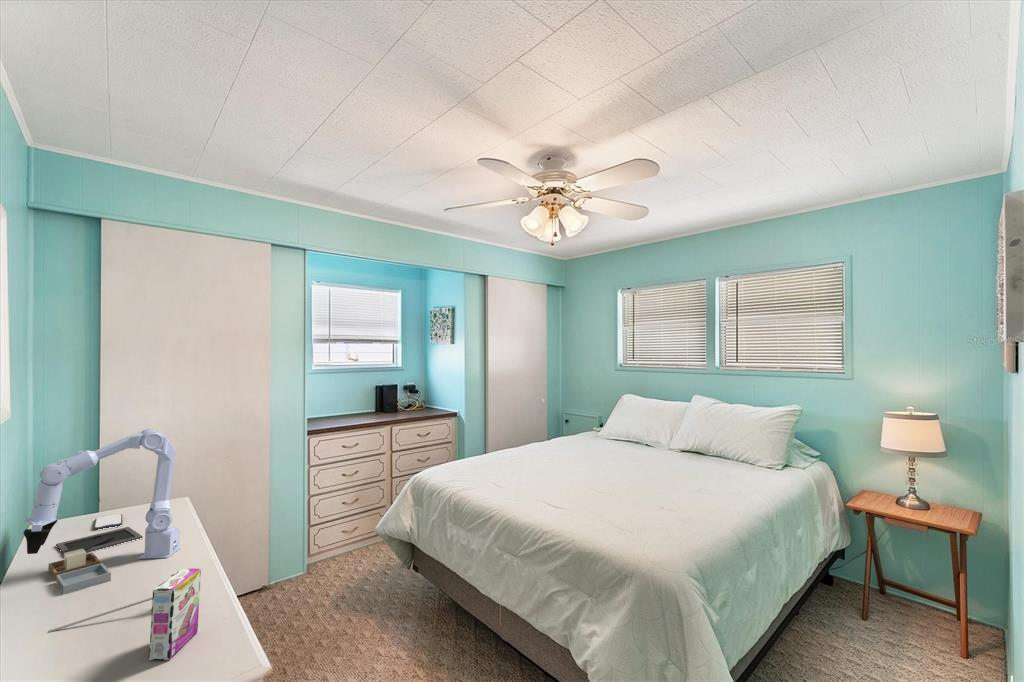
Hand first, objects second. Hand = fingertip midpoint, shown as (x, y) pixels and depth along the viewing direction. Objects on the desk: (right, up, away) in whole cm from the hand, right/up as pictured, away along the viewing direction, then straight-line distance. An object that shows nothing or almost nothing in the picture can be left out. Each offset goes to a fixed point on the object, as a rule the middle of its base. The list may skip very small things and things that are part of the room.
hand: (35, 549), depth 140 cm
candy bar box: (+64, -11, -29) cm, 71 cm away
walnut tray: (+3, -11, +9) cm, 14 cm away
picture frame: (-8, -12, +31) cm, 34 cm away
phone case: (-22, -12, +50) cm, 56 cm away
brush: (+41, -11, -17) cm, 46 cm away
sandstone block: (+3, -10, +9) cm, 14 cm away
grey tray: (+13, -11, +1) cm, 17 cm away
